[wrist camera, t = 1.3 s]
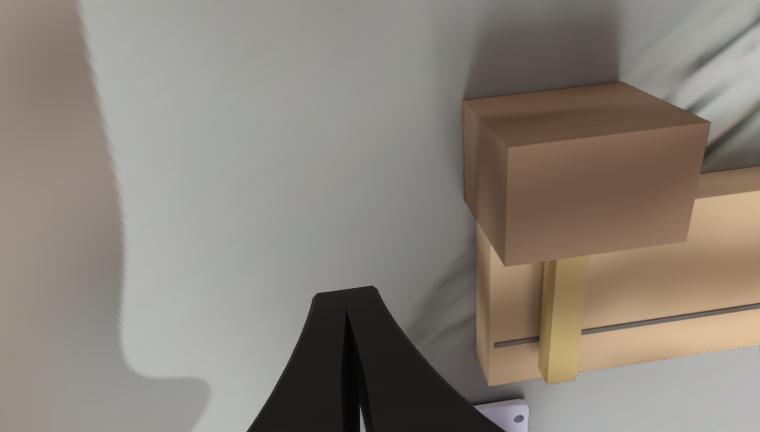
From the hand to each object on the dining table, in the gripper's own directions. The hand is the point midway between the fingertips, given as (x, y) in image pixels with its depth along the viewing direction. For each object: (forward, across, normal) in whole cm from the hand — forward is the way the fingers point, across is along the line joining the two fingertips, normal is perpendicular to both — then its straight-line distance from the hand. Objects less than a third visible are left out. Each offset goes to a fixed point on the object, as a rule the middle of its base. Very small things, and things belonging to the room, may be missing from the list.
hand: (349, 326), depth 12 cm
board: (+9, -16, +6) cm, 20 cm away
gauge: (+9, -8, +4) cm, 13 cm away
